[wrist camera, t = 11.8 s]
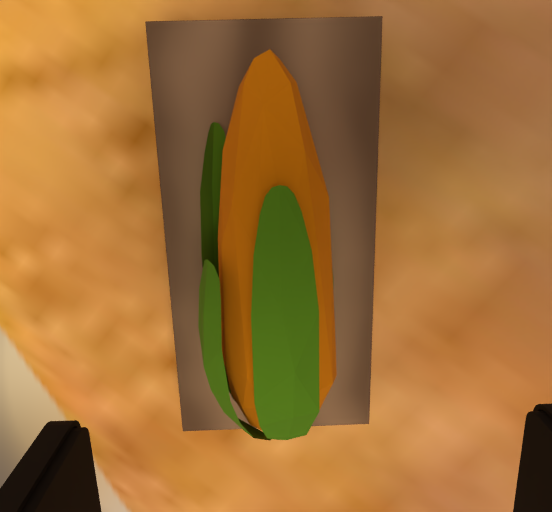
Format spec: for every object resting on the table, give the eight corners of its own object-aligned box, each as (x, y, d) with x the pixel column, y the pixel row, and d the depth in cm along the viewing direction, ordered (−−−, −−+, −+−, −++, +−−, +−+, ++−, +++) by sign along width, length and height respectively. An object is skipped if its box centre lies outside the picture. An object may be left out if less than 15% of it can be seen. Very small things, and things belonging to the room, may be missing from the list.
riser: (366, 29, 29) (382, 16, 25) (357, 390, 35) (369, 423, 31) (161, 34, 28) (145, 21, 24) (191, 396, 35) (182, 431, 31)
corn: (206, 493, 23) (161, 38, 18) (211, 402, 30) (180, 61, 25) (358, 476, 24) (361, 32, 18) (327, 392, 31) (322, 56, 25)
